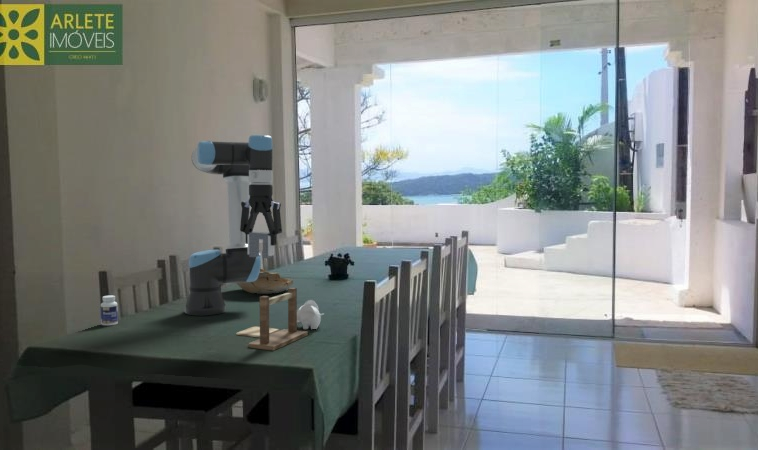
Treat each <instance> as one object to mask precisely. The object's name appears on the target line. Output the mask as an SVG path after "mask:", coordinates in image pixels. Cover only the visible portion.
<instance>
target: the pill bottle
mask: <svg viewBox="0 0 758 450" xmlns="http://www.w3.org/2000/svg"><path fill="white" fill-rule="evenodd" d="M115 300H116V295H111V294H110V295H104V296H102V302H101V303H100V325H101V326H115V325H117V324H118V323H119V318H118V317H119V314H118V310H119V308H118V306H119V305H118V302H117V301H115Z"/></svg>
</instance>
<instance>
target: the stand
mask: <svg viewBox="0 0 758 450" xmlns="http://www.w3.org/2000/svg"><path fill="white" fill-rule="evenodd" d="M297 289H298V288H297V287H289V288H288V289H287V291H288V292H285V293H283V294H278V295H275V296H272V297H270V296H268V295H262V296H261V295H260V296H259V327H260V338H258V339H256V340H253V341H251V342H248V343H247V347H248V348H251V349H258V350H259V349H260V350H266V351H273V352H274V351H276V350H279V349H280V348H283V347H285V346H287V345H289V344H292V343H294V342H296V341H298V340H300V339H302V338H303V339H304V338H305V337H308V335H309V334H308V333H309V331H308V330H307V331H306V330H298V326H297V311H298V307H297V304H298V301H297V299H298V296H297V295H298V293H297V292H298V291H297ZM287 300H288V302H287V303H288V304H287V307H288V308H287V316H288V317H287V324H288V327H287V328H283V329H281V330H280V329H279V331H277V332H275V333H273V334H270V335H269V328H270V306H271V305H274V304H277V303H278V304H279V303H280V302H283V301H287Z"/></svg>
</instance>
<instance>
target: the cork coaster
mask: <svg viewBox="0 0 758 450" xmlns="http://www.w3.org/2000/svg"><path fill="white" fill-rule="evenodd" d="M277 331H280V329H279V328H272V327H269V335H270V334H273V333H275V332H277ZM236 335H237V336H242V337H243V336H244V337H252V338H253V337H254V338H258V339H260V326H251V327H248V328H246V329H243V330H239V331H238V332H236Z"/></svg>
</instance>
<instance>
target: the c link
mask: <svg viewBox="0 0 758 450" xmlns="http://www.w3.org/2000/svg"><path fill="white" fill-rule="evenodd" d="M269 234H270V233H269V231H267V232H266V231H252V232H249V257H258V256H259V253H260V240H262V259H271V258H273V257H274V255H272V256H268V236H269Z"/></svg>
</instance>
